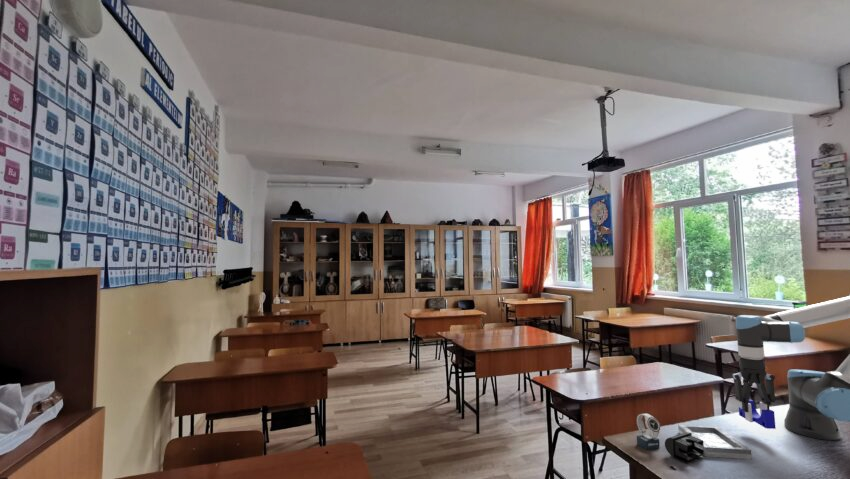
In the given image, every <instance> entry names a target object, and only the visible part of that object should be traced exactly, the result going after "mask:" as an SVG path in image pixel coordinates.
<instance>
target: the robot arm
mask: <svg viewBox="0 0 850 479" xmlns="http://www.w3.org/2000/svg"><path fill="white" fill-rule="evenodd" d="M847 319H850V294H848V296H844V297H840V298H836V299H831V300H827V301H823V302H820V303H818V302H817V303H815V304H814V303H813V304H810V305H806V306H802V307H797V308H794V309H793V308H792V309H789V310H785V311H780V312H776V313H772V314H771V313H770V314H766V315H751V314H748V315H747V314H741V315H739V314H738V315H737V316H736V317H735V330H736V331H735V332H736V340H737V354H738V356H739V357H738V366H739V372H737V373H731V377H732V379H733V388H734V398H735V400H737V401H738V402H741V407H742V410H743V411H745V418H744V419H745V420H746V421H747V422H749V423H754V422H753V420H752V408H751V404H750V403H749V400H750V396H751V390H752V387H753V384H755V385H756V388H757V391H758V393H759V396H760V400H761V401H759V415H761V414H762V410H771V409H770V405H772V403H775V402H776V397H775V394H776V393H775V384H774V383H775V382H774V381H775V380H776V376H775V375H773V374H771V373H767V372H766V370H765V369H766V361H765V349H764V348H765V347H764V342H765V343H766V342H767V343H790V344H794V343H801V342H804V340H805V338H806V331H805V328H809V327H814V326H819V325H823V324H824V325H825V324H828V323H834V322H838V321H839V322H840V321H842V320H847ZM764 379H765V380H764ZM786 379H787V388H788V391H787V392H788V402H789V403H788V404H789V405H788V406H789V407H788V410H787V412H786V415H785V418H784V421H783V422H784V427H785V428H786V429H787V430H788V431H791V432H792V433H795V434H799V435H801V436H805V437H808V438H813V439H819V440H823V441H824V440H826V441H836V440H837V441H838V440H840V439H841V431H840V430H839V427H838V425H837V423H836V422H843V423H850V353H849V354H848V356H846V358H845V359H844V360H843V361H842V362H841V363H840V365H839V366H838V367H837V368H836V369H835V370H831V371H826V372H825V371H816V370H809V369H797V368H795V369H792V368H791V369H789V370H788V371H787V377H786ZM764 381H765V382H764Z"/></svg>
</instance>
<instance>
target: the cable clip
mask: <svg viewBox="0 0 850 479" xmlns="http://www.w3.org/2000/svg"><path fill="white" fill-rule="evenodd" d="M749 403H750V404H751V408H752V420H753V422H752V423H756V424H758V425H760V426H761V427H763V428H765V429H768V430H769V429H772V430H776V429H777V428H776V418H775V411H774V410H772V409H770V410H762V414H760V413H759V412H758V410H757V409H756V406H755V401H754V400H753V399H749ZM738 415H739V416H741V417H742V418H744V419H745V411H743V410H742V406H741V407H738Z"/></svg>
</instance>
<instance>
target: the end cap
mask: <svg viewBox="0 0 850 479" xmlns="http://www.w3.org/2000/svg"><path fill="white" fill-rule="evenodd" d="M694 443H697V444H700V445H702V446H703V440H700V439H698V438H695V437H693V436H692V434H691V433H688V432H687V433H683V434H676V435H674V436H670V437H667V438H666V439H665V441H664V447H665V450H666V452H667V453H668V454H669V455H670V456H671V457H672V458H673V459H675V460H676V461H679V462H681V463H682V464H685V465H690V464H694V463H695V462H699V461H702V460H704V456H705V455H704V449H701V448H699V447H697V446H695V444H694Z"/></svg>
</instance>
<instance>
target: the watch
mask: <svg viewBox="0 0 850 479" xmlns="http://www.w3.org/2000/svg"><path fill="white" fill-rule="evenodd" d="M643 418H644V421H645V422H644V421H643ZM644 423H645V424H644ZM636 425H637V428H638V430H639V433H640V434H638V435H637V434H636V445H637V446H639V447H641V448H642V449H644V450H646V451H649V450H656V449H660V439H659V437H658V436H659V434H660V430H661V423H660V422H659V420H658V419H657V418H655V417H654V416H653V415H651V414H649V413H647V412H646V413H640V414H638V415H637V417H636ZM647 430H648V431H649V432H650V433H647Z"/></svg>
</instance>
